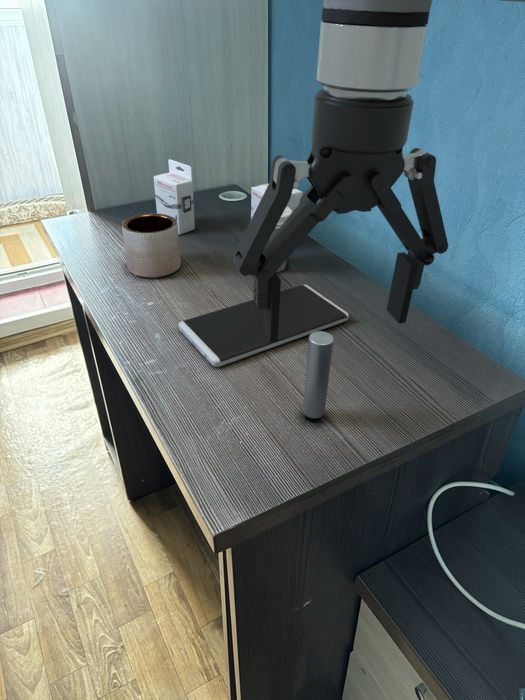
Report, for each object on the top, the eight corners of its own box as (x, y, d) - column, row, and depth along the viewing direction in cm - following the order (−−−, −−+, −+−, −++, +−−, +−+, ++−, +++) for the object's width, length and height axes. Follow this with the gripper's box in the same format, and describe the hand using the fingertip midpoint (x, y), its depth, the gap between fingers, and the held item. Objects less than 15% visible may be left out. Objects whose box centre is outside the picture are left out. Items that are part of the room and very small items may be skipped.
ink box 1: (157, 225, 125) (150, 162, 116) (173, 219, 128) (168, 158, 119) (179, 235, 120) (175, 170, 112) (196, 229, 123) (192, 166, 115)
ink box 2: (300, 241, 119) (304, 191, 112) (268, 249, 115) (270, 197, 108) (280, 229, 125) (282, 180, 118) (249, 235, 121) (250, 185, 114)
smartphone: (177, 329, 88) (176, 321, 87) (304, 290, 100) (305, 282, 99) (214, 370, 79) (214, 361, 78) (350, 322, 91) (351, 313, 90)
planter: (134, 283, 100) (128, 237, 95) (122, 261, 108) (115, 217, 103) (188, 274, 104) (185, 228, 99) (172, 252, 112) (168, 209, 107)
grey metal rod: (328, 415, 71) (338, 336, 64) (316, 427, 69) (325, 347, 62) (309, 406, 72) (317, 328, 65) (297, 417, 71) (304, 338, 63)
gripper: (475, 79, 45) (425, 292, 58) (193, 84, 39) (204, 321, 52) (535, 95, 39) (464, 328, 52) (214, 103, 33) (220, 365, 46)
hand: (334, 325), depth 52 cm, fingers open, 13 cm apart
